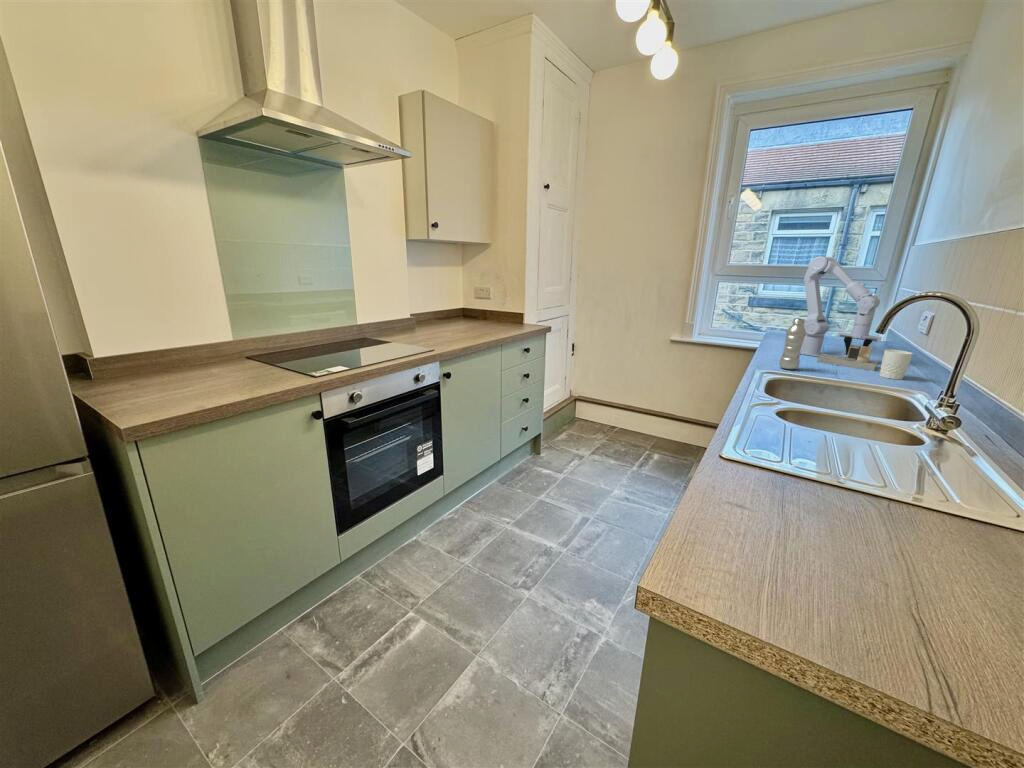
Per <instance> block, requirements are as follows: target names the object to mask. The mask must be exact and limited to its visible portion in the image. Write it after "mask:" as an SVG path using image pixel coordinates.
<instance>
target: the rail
mask: <svg viewBox="0 0 1024 768" xmlns="http://www.w3.org/2000/svg"><path fill="white" fill-rule="evenodd" d="M855 359H856V358H849V357H847V356H841V355H833V354H827V353H822V354H821V355H820V356H818V357H817V360H816V363H819V362H820V364H827V365H832V364H833V366H838V365H839V367H844V366H845V368H851V367H852V369H857V368H858V370H863V369H865V371H870V370H872V371H871V372H875V370H876V369H875V368H877V365H878V361H877V360H876V361H874V360H869V362H868V363H866V362H859V361H857V360H855Z"/></svg>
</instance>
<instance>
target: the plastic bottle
mask: <svg viewBox="0 0 1024 768" xmlns="http://www.w3.org/2000/svg"><path fill="white" fill-rule="evenodd" d="M805 323H806V319H805V318H796V317H795V318H793V320H792V325H790V326H789V328H787V330H786V331H785V342H784V349H783V351H782V356H781V357H780V359H779V362H778V363H779V367H780V368H782V369H784V370H796V369H798V368H799V366H800V355H801V354H800V350H801V346H802V343H803V340H804V338H805V336H806V330H805V328H804V327H805V326H804V325H805Z"/></svg>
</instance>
